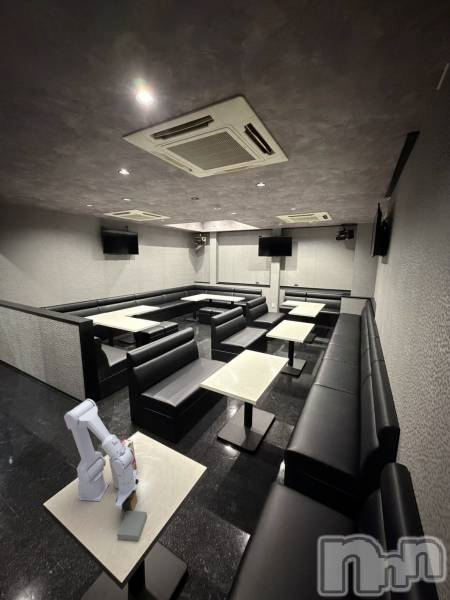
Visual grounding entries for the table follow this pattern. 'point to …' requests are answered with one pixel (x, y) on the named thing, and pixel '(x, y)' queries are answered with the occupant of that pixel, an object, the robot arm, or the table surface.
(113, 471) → the candy bar box
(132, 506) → the walnut block
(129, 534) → the slate coaster
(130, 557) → the table surface
